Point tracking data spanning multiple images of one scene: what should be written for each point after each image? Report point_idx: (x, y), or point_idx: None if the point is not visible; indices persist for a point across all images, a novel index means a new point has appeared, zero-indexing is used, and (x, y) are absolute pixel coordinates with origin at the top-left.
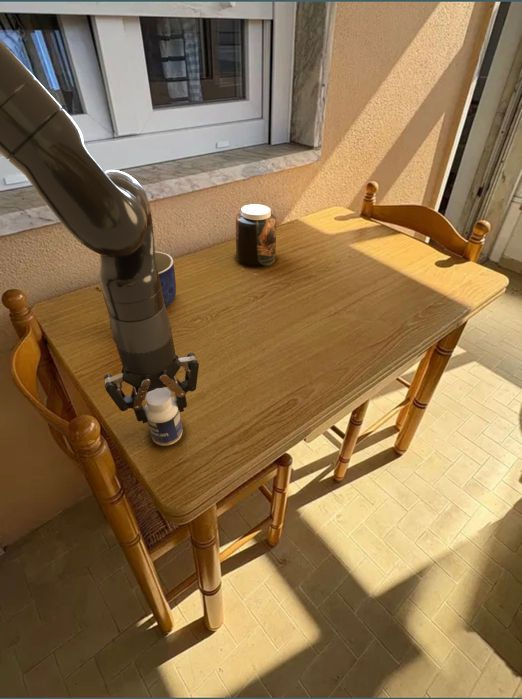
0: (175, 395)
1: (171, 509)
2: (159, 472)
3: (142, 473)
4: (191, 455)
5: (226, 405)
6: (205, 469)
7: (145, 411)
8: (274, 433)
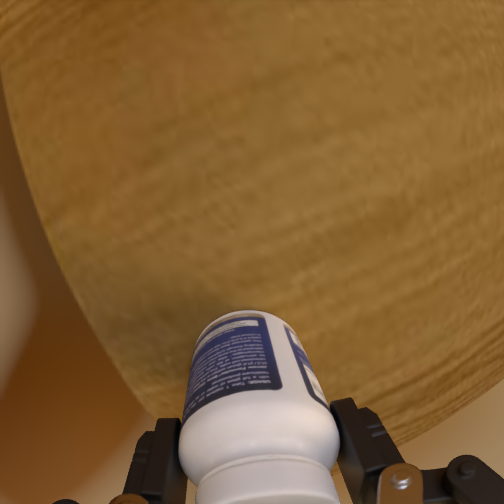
0: (350, 446)
1: None
2: None
3: None
4: None
5: (447, 283)
6: None
7: (185, 472)
8: (480, 384)
